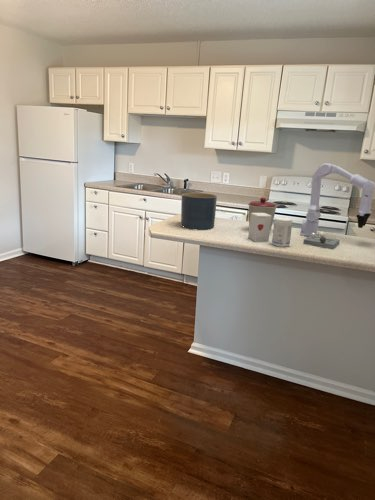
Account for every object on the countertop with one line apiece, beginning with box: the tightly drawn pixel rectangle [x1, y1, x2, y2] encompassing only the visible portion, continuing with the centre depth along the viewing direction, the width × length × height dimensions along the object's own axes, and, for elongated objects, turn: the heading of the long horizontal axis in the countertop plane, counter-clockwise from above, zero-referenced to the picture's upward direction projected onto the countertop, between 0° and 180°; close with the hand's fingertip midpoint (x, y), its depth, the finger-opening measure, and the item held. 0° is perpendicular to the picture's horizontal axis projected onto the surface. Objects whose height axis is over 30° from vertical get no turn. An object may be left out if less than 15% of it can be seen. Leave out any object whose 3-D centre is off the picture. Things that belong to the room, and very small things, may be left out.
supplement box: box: [247, 213, 271, 242], centre depth 210 cm, size 9×9×15 cm
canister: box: [247, 197, 278, 230], centre depth 232 cm, size 18×18×21 cm
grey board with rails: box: [302, 235, 341, 250], centre depth 209 cm, size 16×15×3 cm
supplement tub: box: [271, 216, 293, 248], centre depth 201 cm, size 10×10×15 cm
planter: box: [180, 192, 218, 231], centre depth 236 cm, size 22×22×20 cm
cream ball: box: [318, 231, 325, 237], centre depth 214 cm, size 3×3×3 cm
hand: (361, 226), depth 211 cm, fingers open, 7 cm apart
